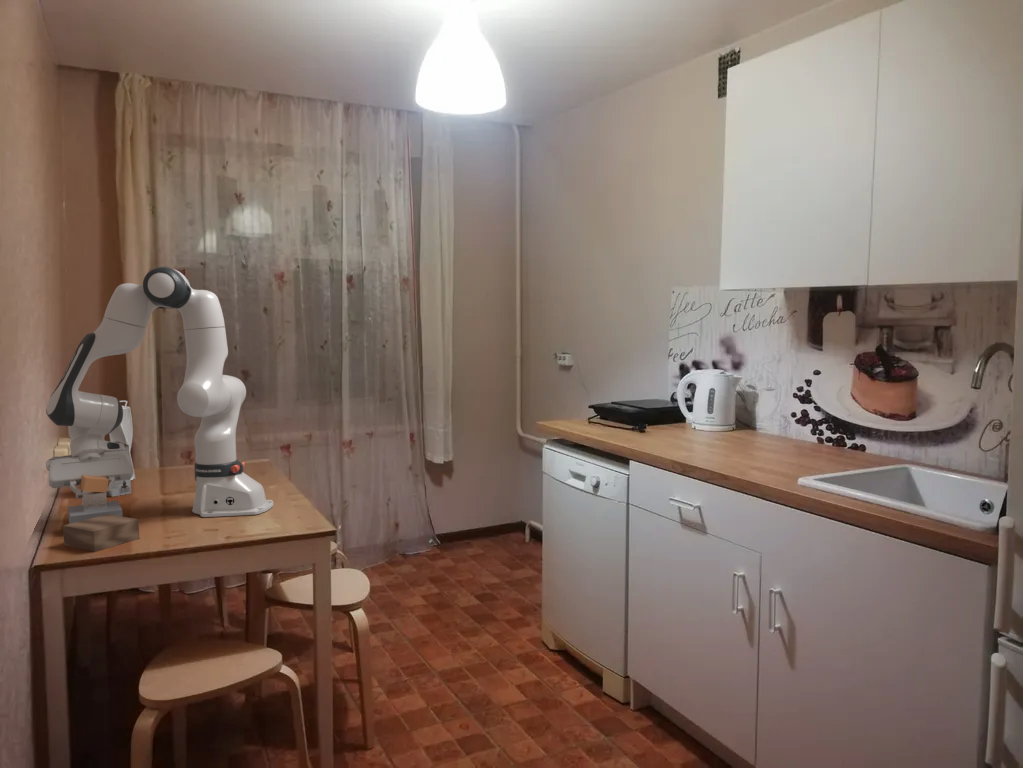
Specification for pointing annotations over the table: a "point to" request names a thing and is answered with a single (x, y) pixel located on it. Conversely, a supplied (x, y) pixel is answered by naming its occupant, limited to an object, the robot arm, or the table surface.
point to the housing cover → (94, 483)
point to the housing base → (94, 501)
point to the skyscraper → (124, 431)
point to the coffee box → (121, 482)
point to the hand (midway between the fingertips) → (94, 494)
